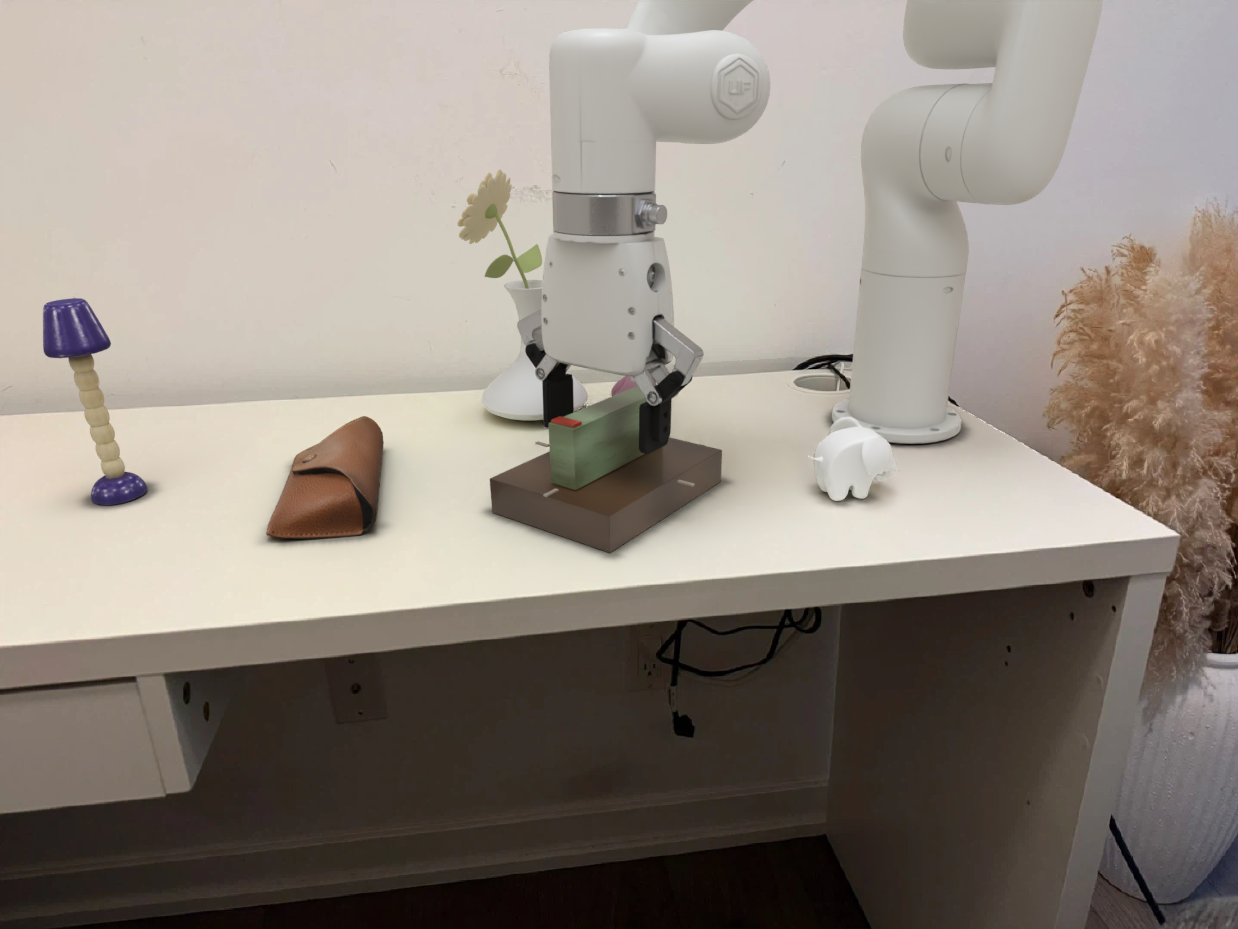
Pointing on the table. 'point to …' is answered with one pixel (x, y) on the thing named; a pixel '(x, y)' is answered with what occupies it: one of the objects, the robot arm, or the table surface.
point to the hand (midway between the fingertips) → (604, 435)
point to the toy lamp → (90, 391)
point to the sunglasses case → (332, 486)
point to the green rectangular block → (595, 439)
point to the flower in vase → (518, 383)
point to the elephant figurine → (852, 459)
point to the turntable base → (608, 494)
